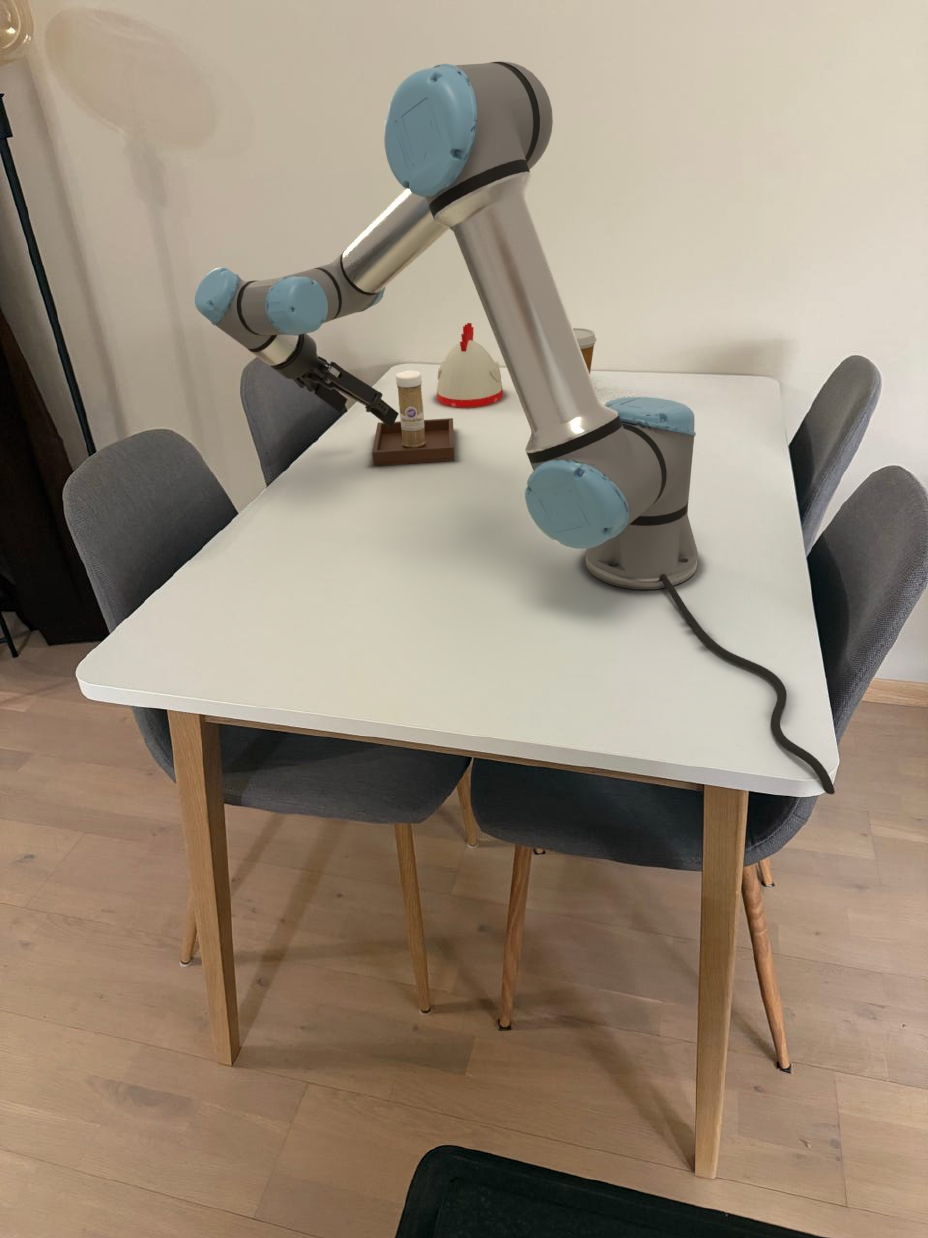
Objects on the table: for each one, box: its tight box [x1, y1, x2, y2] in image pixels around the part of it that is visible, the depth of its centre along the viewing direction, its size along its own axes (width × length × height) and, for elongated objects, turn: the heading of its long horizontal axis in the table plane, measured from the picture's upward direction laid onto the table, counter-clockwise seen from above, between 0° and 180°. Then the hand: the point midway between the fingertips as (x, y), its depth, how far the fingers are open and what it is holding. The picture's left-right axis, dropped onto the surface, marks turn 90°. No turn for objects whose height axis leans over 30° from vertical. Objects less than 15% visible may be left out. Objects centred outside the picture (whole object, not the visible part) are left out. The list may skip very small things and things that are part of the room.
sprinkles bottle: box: [395, 370, 426, 448], centre depth 165 cm, size 5×5×14 cm
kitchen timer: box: [436, 322, 503, 409], centre depth 189 cm, size 14×14×15 cm
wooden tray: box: [371, 417, 455, 467], centre depth 168 cm, size 16×15×3 cm
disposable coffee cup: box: [572, 327, 597, 375], centre depth 189 cm, size 10×10×12 cm
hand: (367, 412), depth 157 cm, fingers open, 13 cm apart
